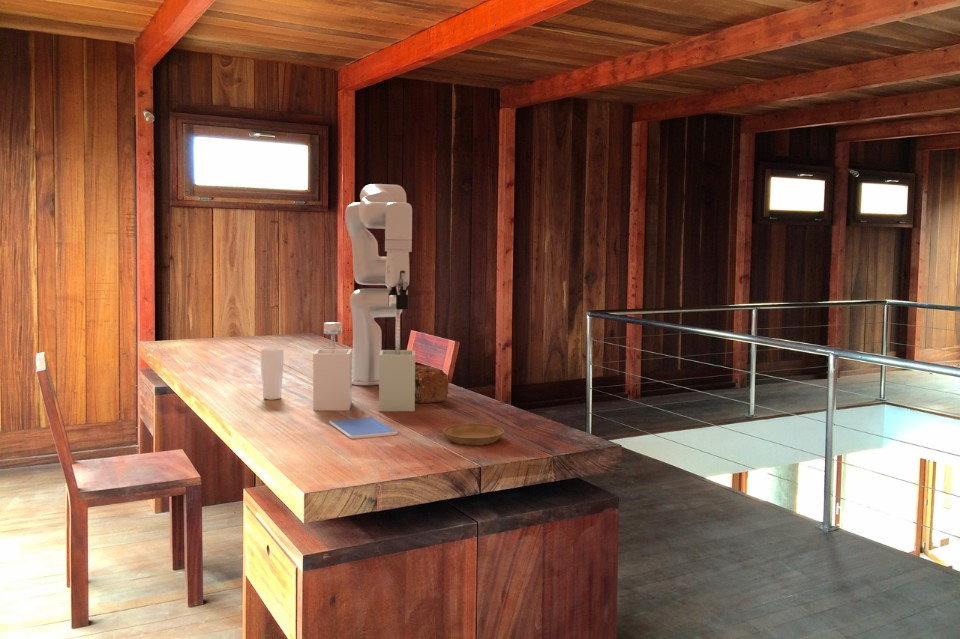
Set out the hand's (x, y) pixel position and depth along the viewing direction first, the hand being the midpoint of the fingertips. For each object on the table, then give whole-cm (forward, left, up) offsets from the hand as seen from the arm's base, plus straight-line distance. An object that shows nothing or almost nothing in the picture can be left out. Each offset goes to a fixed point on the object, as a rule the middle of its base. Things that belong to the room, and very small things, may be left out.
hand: (397, 307), depth 230 cm
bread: (-16, -6, -29) cm, 34 cm away
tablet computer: (+24, +12, -30) cm, 40 cm away
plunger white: (+12, -14, -25) cm, 31 cm away
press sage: (0, 0, -29) cm, 29 cm away
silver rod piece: (0, 0, -17) cm, 17 cm away
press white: (+12, -14, -29) cm, 34 cm away
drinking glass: (+17, -36, -29) cm, 49 cm away
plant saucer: (+13, +40, -29) cm, 51 cm away
